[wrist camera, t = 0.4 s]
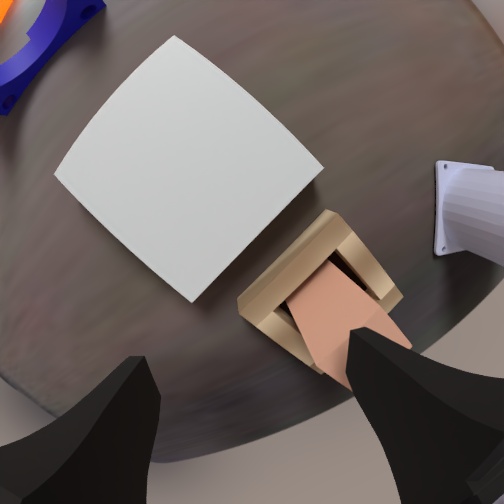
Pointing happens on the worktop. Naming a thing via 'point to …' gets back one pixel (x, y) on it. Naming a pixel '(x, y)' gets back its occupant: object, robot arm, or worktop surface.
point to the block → (336, 317)
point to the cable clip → (43, 45)
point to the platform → (185, 167)
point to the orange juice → (4, 8)
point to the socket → (299, 269)
